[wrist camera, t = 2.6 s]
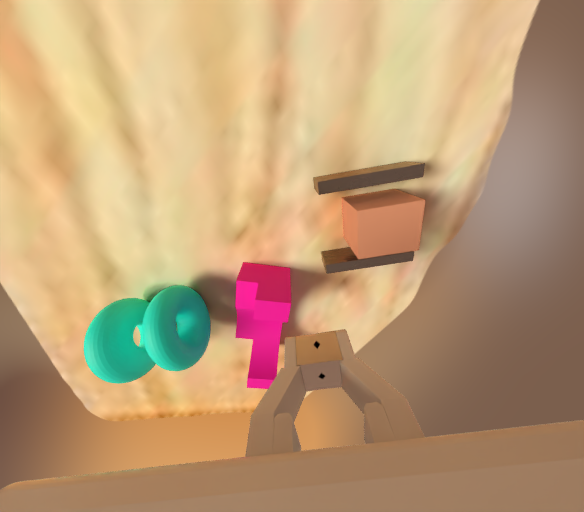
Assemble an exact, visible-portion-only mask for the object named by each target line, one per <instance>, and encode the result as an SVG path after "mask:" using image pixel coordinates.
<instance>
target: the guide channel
mask: <svg viewBox="0 0 584 512" xmlns="http://www.w3.org/2000/svg"><path fill="white" fill-rule="evenodd" d="M424 166H425V163H416V162H406V161H405V162H399V163H393V164H388V165H382V166H376V167H371V168H365V169H359V170H353V171H348V172H342V173H336V174H330V175H325V176H319V177H313V180H314V189H315V190H316V192H317V193H318V194H319V195H320V194H326V193H332V192H338V191H344V190H349V189H355V188H361V187H367V186H373V185H379V184H385V183H391V182H396V181H402V180H408V179H414V178H420V177H423V175H424ZM321 254H322V261H323V264H324V267H325V270H326V273H327V274H328V273H335V272H341V271H348V270H354V269H361V268H368V267H374V266H381V265H388V264H394V263H401V262H407V261H413V257H414V251H410V252H403V253H397V254H390V255H383V256H377V257H370V258H364V259H358V258H357V257H356V255H355V254H354V252H353V251H352V249H351V248H350V247H348V248H341V249H335V250H329V251H322V252H321Z"/></svg>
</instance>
